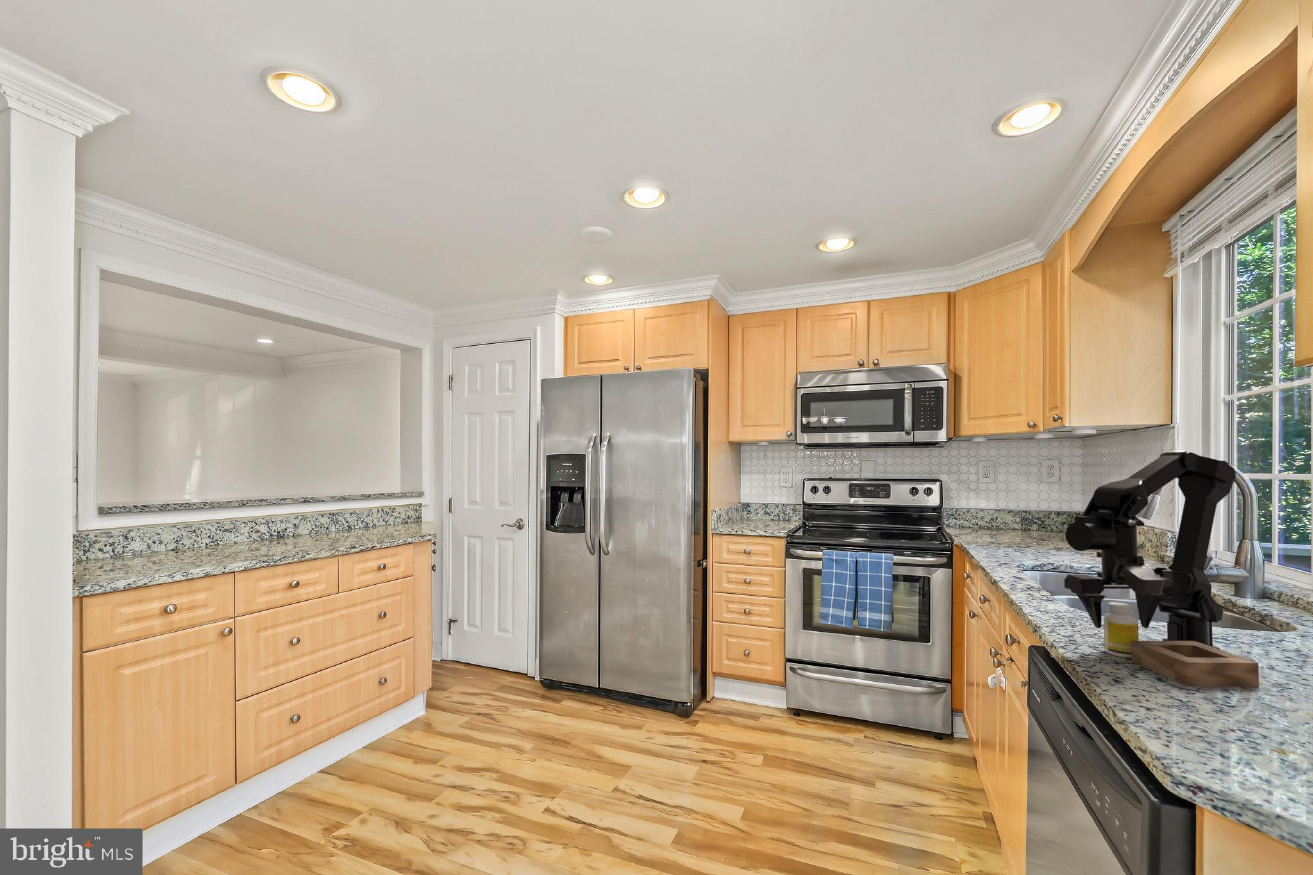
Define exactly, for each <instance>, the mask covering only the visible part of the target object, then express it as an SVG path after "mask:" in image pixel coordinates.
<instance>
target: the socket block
mask: <svg viewBox="0 0 1313 875" xmlns="http://www.w3.org/2000/svg"><path fill="white" fill-rule="evenodd" d="M1131 645H1132V658H1131V662H1132V663H1133V664H1136V665H1139V666H1141V667H1143V668H1144V669H1148V670H1150V671H1152V672H1154V673H1156V674H1159V675H1161V676H1164V677H1166V678H1168V679H1170V680H1173V681H1175V682H1178V683H1180V684H1182V685H1184V686H1187V687H1252V688H1253V687H1254V688H1255V687H1258V688H1259V687H1260V673H1259V662H1256V661H1254V660H1251V659H1248V658H1245V657H1242V656H1240V655H1237V654H1234V653H1231V652H1227V651H1225V650H1223V649H1221V648H1220V649H1217V648H1214V647H1211V646H1208V645H1205V644H1202V643H1199V642H1196V641H1163V640H1139V641H1131Z"/></svg>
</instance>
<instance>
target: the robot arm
mask: <svg viewBox="0 0 1313 875" xmlns="http://www.w3.org/2000/svg"><path fill="white" fill-rule="evenodd" d="M1236 473H1237V472H1236V470H1235V468H1234V467H1233V466H1232V465H1230V463H1229V462H1227V461H1226V460H1220V459H1219V460H1218V459H1215V458H1211V457H1207V456H1202V455H1199V454H1196V453H1194V452H1191V451H1189V450H1168V451H1164V452H1162V453H1161V454H1160V455H1159V457H1158V458H1156V459H1154V460H1153V461H1151V462H1150V463H1148V464H1147V465H1145V466H1144V467H1142V468H1141V469H1139V470H1138V471H1136V472H1135V473H1133V474H1131V475H1130V476H1128V477H1126V478H1125V479H1121V480H1116V481H1112V482H1108V483H1105V484H1103V485H1100V486H1098V487H1097V488H1096V489H1095V490H1094V492H1093V495H1092V497H1091V499H1090V500H1089V502H1088V504H1087V506H1086V508H1085V509H1084V511H1083V513H1082V515H1075V516H1074V521H1073V522H1071V523H1070V524H1069V525H1068V527H1067V528H1066V531H1064V532H1065V540H1066V542H1067V544H1068V546H1070V547H1071V548H1072V549H1073V550H1075V551H1077V552H1087V551H1088V552H1090V551H1096V557H1097V558H1101V571H1097V572H1096V577H1095V576H1091V575H1087V574H1067V575H1066V576H1065V577H1064V578H1063V579H1064V580H1063V582H1064V588H1065V589H1067V590H1070V592H1071V593H1073V594H1076V596H1077V597H1078V599H1079V600H1080V602H1081V603H1082V605H1083V608H1085V610H1086V612H1087V614H1088V616H1089V618H1090V619H1091V621H1092V623H1093V625H1094V627H1096V628H1097V629H1101V628H1102V620H1103V619H1102V602H1103V601H1104V599H1105V598H1106V595H1103V594H1102V592H1103V593H1104V591H1105V590H1106V589H1107V590H1110V589H1114V590H1116V589H1117V590H1118V589H1119V590H1121V589H1123V590H1129V589H1130V590H1132V591H1133V592H1134V595H1135V600H1136V606H1137V613H1138V619H1139V622H1140V625H1141V627H1142V628H1144V629H1149V626H1150V624H1151V622H1152V619H1153V617H1154V615H1155V613H1156V610H1157V609H1159V610H1158V611H1159V612H1160V613H1166V614H1168V615H1167V616H1168V621H1167V622H1166V632H1167V635H1166V636H1167V637H1166V638H1162V641H1196V642H1199V643H1202V644H1205V645H1208V646H1211V647H1214V648H1217V649H1220V650H1221V647H1218V646H1215V645H1214V644H1213V642H1214V640H1213V639H1214V638H1213V623H1219V622H1221V621H1222V619H1223V616H1224V615H1223V614H1224V610H1223V608H1222V607H1221V606H1220V604H1218V602H1217V601H1216V600H1215V598H1214V597H1213V596H1212V588H1213V587H1212V585H1211V583H1210V581H1209V578H1208V577H1207V574H1206V573H1205V566H1206V560H1207V557H1208V550H1209V545H1210V540H1211V536H1212V531H1213V525H1214V520H1215V514H1216V509H1217V505H1218V504H1219V503H1220V502H1221V501H1222V500H1223V499H1224V498H1225V497H1227V496H1228V495H1229V494H1230V493H1231V490H1232V487H1233V484H1234V481H1235V479H1236V477H1237V476H1236V475H1237V474H1236ZM1175 479H1177V480H1178V481H1177V482H1178V483H1177V486H1178V488H1179V489H1180V491H1181V494H1182V495H1183V496H1184V502H1183V507H1182V508H1183V509H1182V514H1181V518H1180V523H1179V527H1178V533H1177V539H1176V541H1175V542H1176V543H1175V548H1174V552H1173V556H1172V557H1173V558H1172V562H1171V564H1170V565H1169V566H1156V567H1155V568H1154V567H1148V566H1146V565H1145V559H1144V556H1143V555H1138V533H1137V531H1138V530H1137V527H1144V526H1145V522H1144V521H1143V520H1141V519H1140V518H1138V515H1139V514H1140V513H1141V512H1142V511H1143V510H1144V509H1145V508H1146V507H1147V506H1148V505H1149V498H1150V496H1152V495H1153V494H1154V493H1156V492H1157V491H1159V490H1160V489H1161V488H1163V487H1164V486H1166V485H1168V484H1169V483H1171V482H1172V481H1174V480H1175Z"/></svg>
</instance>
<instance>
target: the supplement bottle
mask: <svg viewBox="0 0 1313 875" xmlns="http://www.w3.org/2000/svg"><path fill="white" fill-rule="evenodd" d="M1107 611H1109V612H1107V613H1105V614H1104V616H1103V639H1104V640H1103V644H1104V646H1103V647H1104V648H1103V649H1104V652H1105V653H1107V654H1109V655H1111V656H1114V657H1119V658H1128V659H1132V645H1131V641H1140V640H1139V620H1138V619H1137V618H1136V617H1135V616H1133V615H1134V612H1135V611H1134V606H1133V605H1131V604H1129V603H1123V602H1117V601H1116V602H1115V601H1111V602H1107Z"/></svg>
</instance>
